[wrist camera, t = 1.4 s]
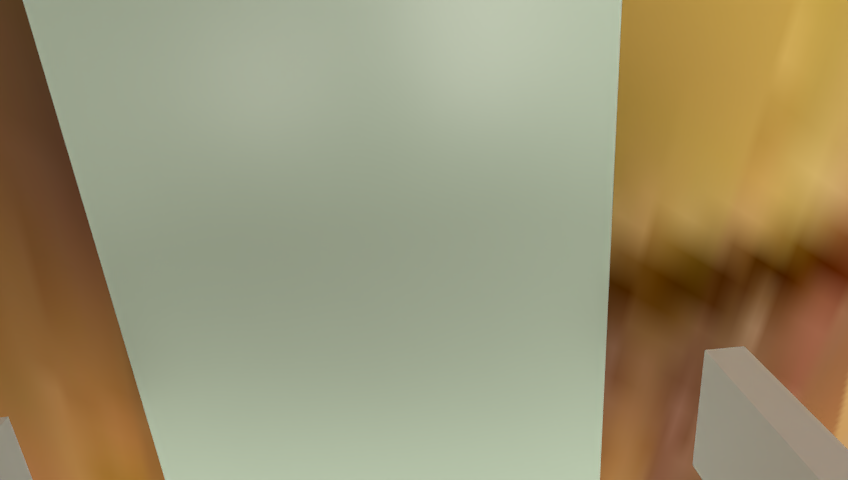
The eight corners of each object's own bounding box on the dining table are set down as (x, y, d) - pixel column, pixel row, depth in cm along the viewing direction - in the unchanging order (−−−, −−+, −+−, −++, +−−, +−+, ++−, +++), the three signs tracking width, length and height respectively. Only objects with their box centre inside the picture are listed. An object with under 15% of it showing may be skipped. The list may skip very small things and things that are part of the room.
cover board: (59, -7, 14) (21, -4, 12) (599, -48, 14) (624, -51, 13) (207, 533, 20) (194, 577, 19) (582, 494, 20) (597, 535, 19)
